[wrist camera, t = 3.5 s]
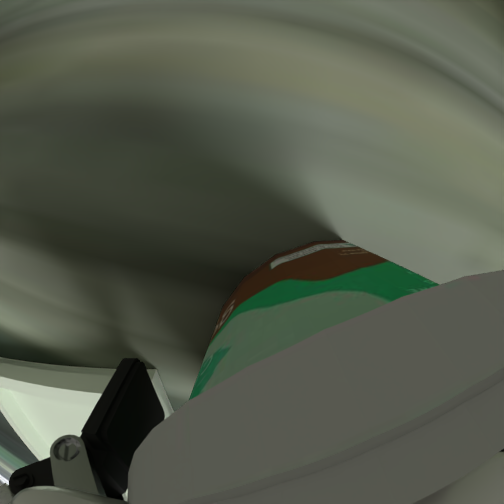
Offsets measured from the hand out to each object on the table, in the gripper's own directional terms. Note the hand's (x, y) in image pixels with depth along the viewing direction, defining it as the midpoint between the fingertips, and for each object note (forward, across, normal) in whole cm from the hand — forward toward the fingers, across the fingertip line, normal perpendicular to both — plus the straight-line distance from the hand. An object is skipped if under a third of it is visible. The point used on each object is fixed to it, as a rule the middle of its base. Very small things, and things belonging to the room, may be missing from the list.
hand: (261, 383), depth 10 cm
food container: (+3, 0, 0) cm, 3 cm away
